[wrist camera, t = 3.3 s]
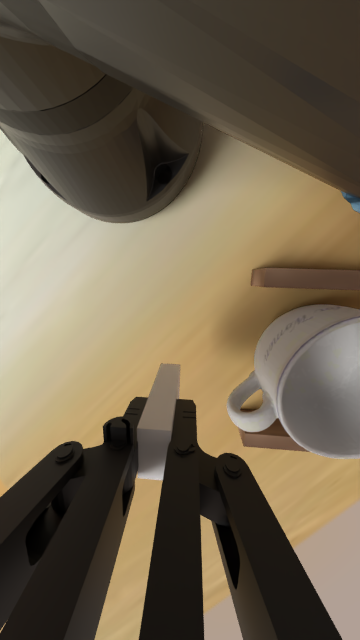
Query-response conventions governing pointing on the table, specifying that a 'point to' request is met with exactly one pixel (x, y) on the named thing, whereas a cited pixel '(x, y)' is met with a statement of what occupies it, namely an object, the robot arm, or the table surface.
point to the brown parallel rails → (293, 278)
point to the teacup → (307, 380)
